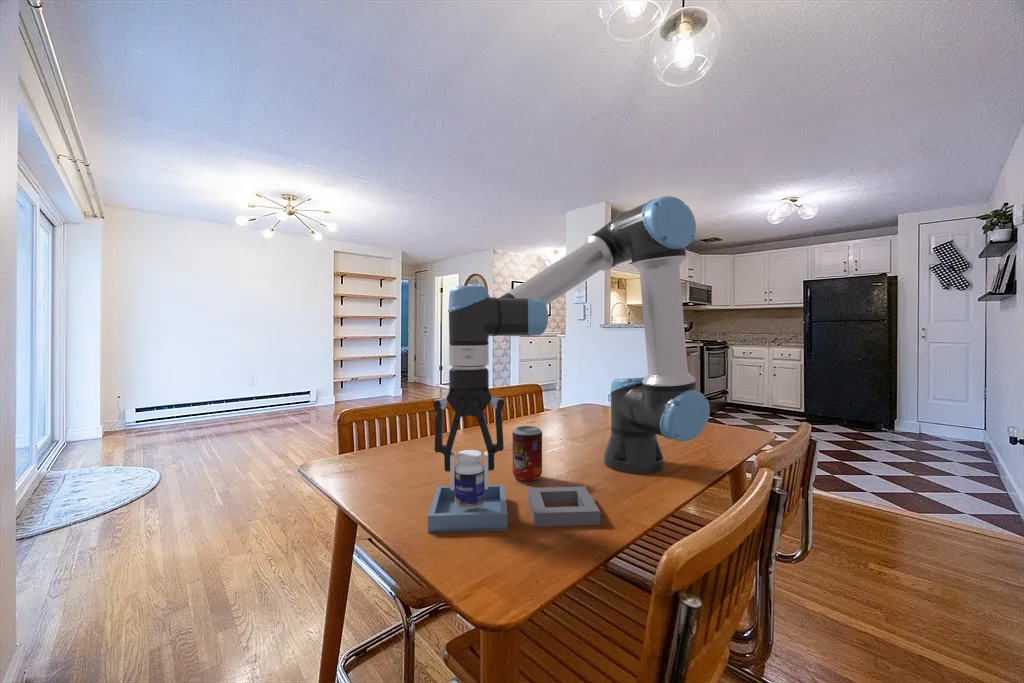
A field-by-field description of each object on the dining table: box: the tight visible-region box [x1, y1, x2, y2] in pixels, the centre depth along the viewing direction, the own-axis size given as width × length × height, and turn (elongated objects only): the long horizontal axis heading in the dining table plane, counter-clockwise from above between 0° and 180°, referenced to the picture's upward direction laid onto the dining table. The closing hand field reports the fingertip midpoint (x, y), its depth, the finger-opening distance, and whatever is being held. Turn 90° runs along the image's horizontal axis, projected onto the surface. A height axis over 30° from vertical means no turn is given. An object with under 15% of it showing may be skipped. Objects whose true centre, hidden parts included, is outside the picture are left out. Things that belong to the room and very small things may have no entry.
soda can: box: [511, 425, 543, 485], centre depth 99 cm, size 7×7×12 cm
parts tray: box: [427, 484, 509, 534], centre depth 81 cm, size 14×14×3 cm
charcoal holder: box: [527, 486, 601, 528], centre depth 82 cm, size 12×12×2 cm
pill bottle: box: [455, 449, 485, 509], centre depth 81 cm, size 6×6×10 cm
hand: (469, 486), depth 81 cm, fingers closed on pill bottle, 6 cm apart
